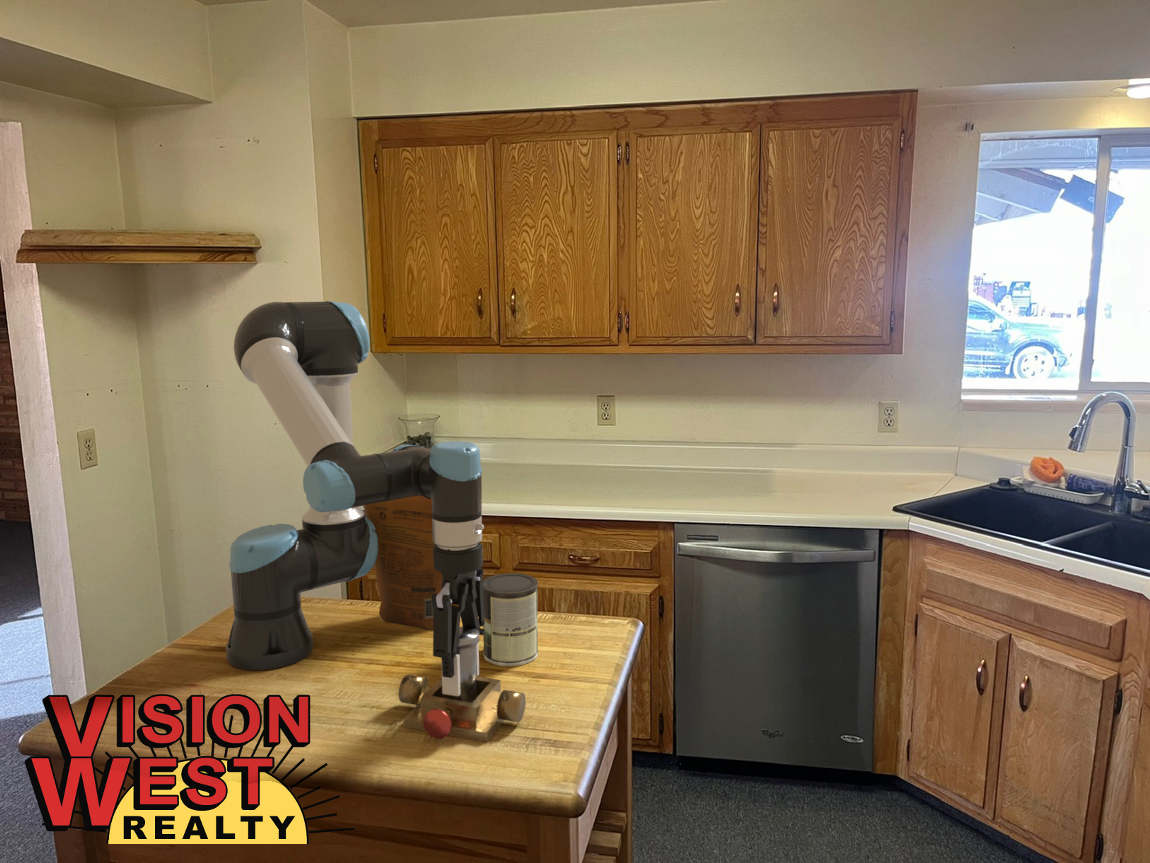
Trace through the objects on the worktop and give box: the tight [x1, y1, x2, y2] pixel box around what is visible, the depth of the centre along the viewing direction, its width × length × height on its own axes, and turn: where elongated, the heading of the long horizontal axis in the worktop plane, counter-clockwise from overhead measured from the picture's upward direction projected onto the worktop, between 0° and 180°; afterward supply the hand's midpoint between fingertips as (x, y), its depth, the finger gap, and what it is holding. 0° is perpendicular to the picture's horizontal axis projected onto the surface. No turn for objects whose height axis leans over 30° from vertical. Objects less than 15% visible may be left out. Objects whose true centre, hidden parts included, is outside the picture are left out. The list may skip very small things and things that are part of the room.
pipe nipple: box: [447, 626, 480, 703], centre depth 128 cm, size 6×6×12 cm
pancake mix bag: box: [362, 496, 443, 631], centre depth 163 cm, size 7×19×28 cm, turn 67°
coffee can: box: [482, 572, 539, 667], centre depth 150 cm, size 10×10×14 cm
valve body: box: [398, 674, 527, 743], centre depth 128 cm, size 20×15×5 cm
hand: (461, 683), depth 128 cm, fingers open, 6 cm apart
